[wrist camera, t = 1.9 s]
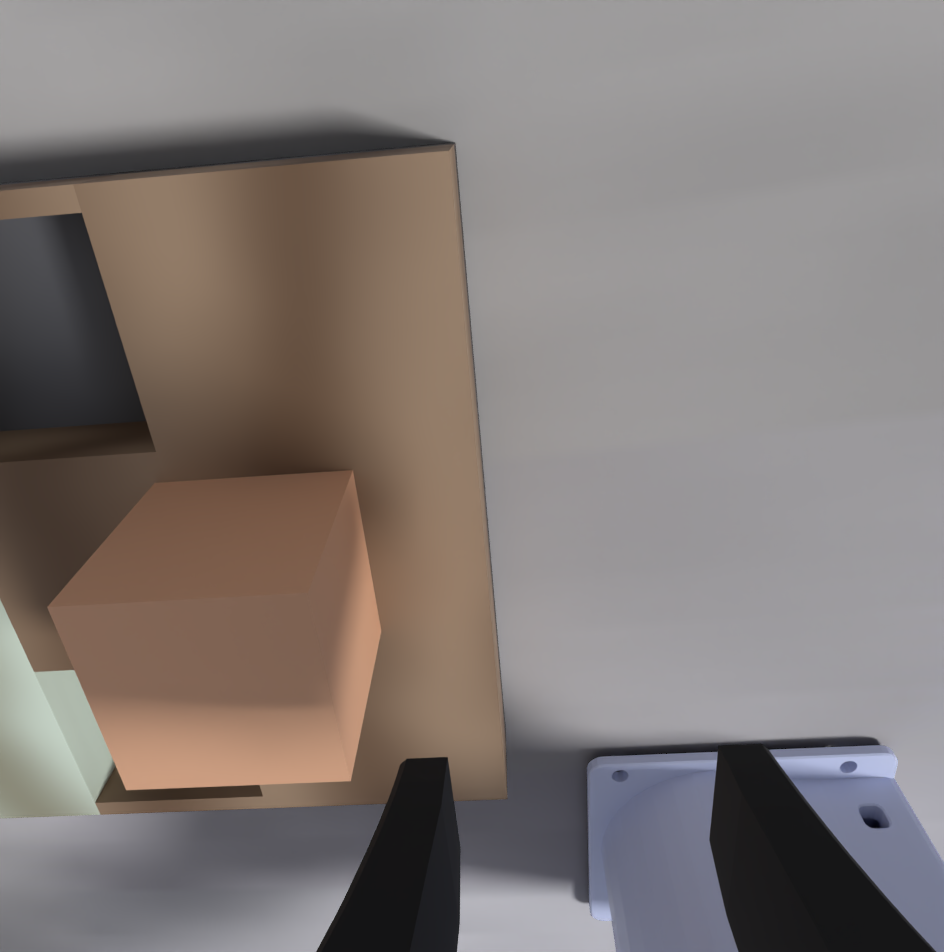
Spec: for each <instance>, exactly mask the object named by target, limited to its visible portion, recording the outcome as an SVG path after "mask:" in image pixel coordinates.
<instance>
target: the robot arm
mask: <svg viewBox="0 0 944 952" xmlns="http://www.w3.org/2000/svg"><path fill="white" fill-rule="evenodd" d="M897 765H898V759H897V758H896V756H895V755H894V753H893V751H892V750H891V749H890V748H889V747H887V746H881V745H870V746H846V747H822V748H797V749H773V750H768V749H767V748H766V747H765V746H764V745H762V744H747V745H722V746H718V752H700V753H676V754H651V755H627V756H603V757H597V758H595V759H593V760H591V761H590V763H589V764H588V766H587V802H588V861H589V906H590V913H591V916H593V917H594V918H595V919H597V920H601V921H612V926H613V933H614V940H615V947H616V952H944V862H943V860H942V858H941V857H940V855H939V853H938V852H937V850H936V848H935V846H934V845H933V843H932V841H931V840H930V838H929V836H928V835H927V833H926V831H925V830H924V828H923V826H922V824H921V823H920V821H919V819H918V818H917V816H916V814H915V813H914V811H913V809H912V808H911V806H910V804H909V802H908V801H907V799H906V797H905V796H904V794H903V792H902V791H901V789H900V787H899V785H898V784H897V782H896V780H895V779H894V776H895V772H896V769H897ZM619 770H623V771H620V772H616V771H619ZM459 924H460V842H459V835H458V828H457V821H456V813H455V806H454V799H453V792H452V785H451V777H450V770H449V763H448V757H433V758H409V759H406V760H405V761H404V762H402V763H401V764H400V767H399V770H398V773H397V776H396V779H395V782H394V785H393V788H392V790H391V793H390V796H389V799H388V801H387V804H386V806H385V809H384V812H383V814H382V816H381V819H380V821H379V824H378V826H377V828H376V831H375V833H374V835H373V838H372V840H371V842H370V845H369V847H368V849H367V852H366V854H365V856H364V858H363V860H362V862H361V864H360V866H359V868H358V871H357V873H356V875H355V877H354V879H353V881H352V883H351V885H350V888H349V890H348V892H347V894H346V896H345V898H344V900H343V902H342V904H341V906H340V908H339V910H338V912H337V914H336V916H335V918H334V920H333V921H332V923H331V925H330V927H329V929H328V931H327V933H326V935H325V936H324V938H323V940H322V942H321V944H320V946H319V948H318V949H317V951H316V952H457V944H458V934H459Z"/></svg>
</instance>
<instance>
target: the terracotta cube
mask: <svg viewBox="0 0 944 952" xmlns="http://www.w3.org/2000/svg"><path fill="white" fill-rule="evenodd" d="M47 608H48V610H49V613H50V615H51V617H52V620H53V622H54V624H55V627H56V629H57V631H58V634H59V636H60V638H61V640H62V643H63V645H64V647H65V650H66V652H67V654H68V657H69V659H70V661H71V664H72V666H73V668H74V671H75V673H76V675H77V677H78V680H79V682H80V684H81V687H82V689H83V691H84V694H85V696H86V698H87V701H88V703H89V705H90V708H91V710H92V712H93V715H94V717H95V719H96V721H97V724H98V726H99V728H100V731H101V733H102V735H103V738H104V740H105V742H106V745H107V747H108V749H109V752H110V754H111V756H112V758H113V761H114V763H115V765H116V768H117V770H118V772H119V775H120V777H121V779H122V782H123V784H124V786H125V789H126V790H143V789H168V788H193V787H218V786H243V785H268V784H293V783H318V782H343V781H351V778H352V773H353V768H354V763H355V758H356V753H357V748H358V743H359V738H360V733H361V728H362V724H363V719H364V714H365V709H366V704H367V699H368V694H369V689H370V684H371V679H372V674H373V670H374V665H375V660H376V655H377V650H378V645H379V640H380V635H381V626H380V621H379V615H378V609H377V604H376V598H375V592H374V587H373V581H372V576H371V570H370V564H369V559H368V553H367V547H366V542H365V536H364V530H363V525H362V519H361V513H360V508H359V502H358V496H357V491H356V485H355V479H354V474H353V470H346V471H331V472H315V473H300V474H284V475H269V476H253V477H238V478H223V479H207V480H192V481H176V482H161V483H154V484H153V485H152V487H151V488H150V489H149V490H148V491H147V492H146V493H145V495H144V496H143V497H142V498H141V499H140V500H139V502H138V503H137V504H136V505H135V506H134V507H133V508H132V510H131V511H130V512H129V513H128V514H127V515H126V517H125V518H124V519H123V520H122V521H121V522H120V524H119V525H118V526H117V527H116V528H115V529H114V530H113V532H112V533H111V534H110V535H109V536H108V537H107V539H106V540H105V541H104V542H103V543H102V544H101V545H100V547H99V548H98V549H97V550H96V551H95V552H94V554H93V555H92V556H91V557H90V558H89V559H88V560H87V562H86V563H85V564H84V565H83V566H82V567H81V569H80V570H79V571H78V572H77V573H76V574H75V576H74V577H73V578H72V579H71V580H70V581H69V582H68V584H67V585H66V586H65V587H64V588H63V589H62V591H61V592H60V593H59V594H58V595H57V596H56V597H55V599H54V600H53V601H52V602H51V603H50V604H49V606H48V607H47Z"/></svg>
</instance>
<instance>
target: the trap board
mask: <svg viewBox="0 0 944 952" xmlns="http://www.w3.org/2000/svg"><path fill="white" fill-rule="evenodd" d="M346 470H353V474H354V479H355V485H356V491H357V496H358V502H359V508H360V513H361V519H362V525H363V530H364V536H365V542H366V547H367V553H368V559H369V564H370V570H371V576H372V581H373V587H374V592H375V598H376V604H377V609H378V615H379V621H380V626H381V635H380V640H379V645H378V650H377V655H376V660H375V665H374V670H373V674H372V679H371V684H370V689H369V694H368V699H367V704H366V709H365V714H364V719H363V724H362V728H361V733H360V738H359V743H358V748H357V753H356V758H355V763H354V768H353V773H352V778H351V781H343V782H318V783H293V784H268V785H243V786H218V787H193V788H168V789H143V790H126V789H125V786H124V784H123V782H122V779H121V777H120V775H119V772H118V770H117V768H116V765H115V763H114V761H113V758H112V756H111V754H110V752H109V749H108V747H107V745H106V742H105V740H104V738H103V735H102V733H101V731H100V728H99V726H98V724H97V721H96V719H95V717H94V715H93V712H92V710H91V708H90V705H89V703H88V701H87V698H86V696H85V694H84V691H83V689H82V687H81V684H80V682H79V680H78V677H77V675H76V673H75V671H74V668H73V666H72V664H71V661H70V659H69V657H68V654H67V652H66V650H65V647H64V645H63V643H62V640H61V638H60V636H59V634H58V631H57V629H56V627H55V624H54V622H53V620H52V617H51V615H50V613H49V610H48V608H47V607H48V606H49V604H50V603H51V602H52V601H53V600H54V599H55V597H56V596H57V595H58V594H59V593H60V592H61V591H62V589H63V588H64V587H65V586H66V585H67V584H68V582H69V581H70V580H71V579H72V578H73V577H74V576H75V574H76V573H77V572H78V571H79V570H80V569H81V567H82V566H83V565H84V564H85V563H86V562H87V560H88V559H89V558H90V557H91V556H92V555H93V554H94V552H95V551H96V550H97V549H98V548H99V547H100V545H101V544H102V543H103V542H104V541H105V540H106V539H107V537H108V536H109V535H110V534H111V533H112V532H113V530H114V529H115V528H116V527H117V526H118V525H119V524H120V522H121V521H122V520H123V519H124V518H125V517H126V515H127V514H128V513H129V512H130V511H131V510H132V508H133V507H134V506H135V505H136V504H137V503H138V502H139V500H140V499H141V498H142V497H143V496H144V495H145V493H146V492H147V491H148V490H149V489H150V488H151V487H152V485H153V484H154V483H161V482H176V481H192V480H207V479H223V478H238V477H253V476H269V475H284V474H300V473H315V472H331V471H346ZM433 757H448V763H449V770H450V777H451V785H452V792H453V799H454V801H471V800H497V799H507V764H506V729H505V717H504V706H503V694H502V682H501V671H500V659H499V647H498V636H497V624H496V612H495V601H494V589H493V577H492V566H491V554H490V542H489V531H488V519H487V507H486V496H485V484H484V472H483V461H482V449H481V437H480V426H479V414H478V402H477V391H476V379H475V367H474V356H473V344H472V332H471V321H470V309H469V297H468V286H467V274H466V262H465V251H464V239H463V227H462V216H461V204H460V192H459V181H458V169H457V157H456V146H455V143H444V144H433V145H422V146H411V147H400V148H389V149H378V150H366V151H355V152H344V153H333V154H322V155H311V156H300V157H289V158H278V159H267V160H256V161H245V162H234V163H223V164H212V165H201V166H190V167H179V168H168V169H156V170H145V171H134V172H123V173H112V174H101V175H90V176H79V177H68V178H57V179H46V180H35V181H24V182H13V183H2V184H0V818H24V817H50V816H76V815H103V814H129V813H155V812H181V811H208V810H234V809H260V808H287V807H313V806H339V805H366V804H387V801H388V799H389V796H390V793H391V790H392V788H393V785H394V782H395V779H396V776H397V773H398V770H399V767H400V764H401V763H402V762H404V761H405V760H406V759H409V758H433Z"/></svg>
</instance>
